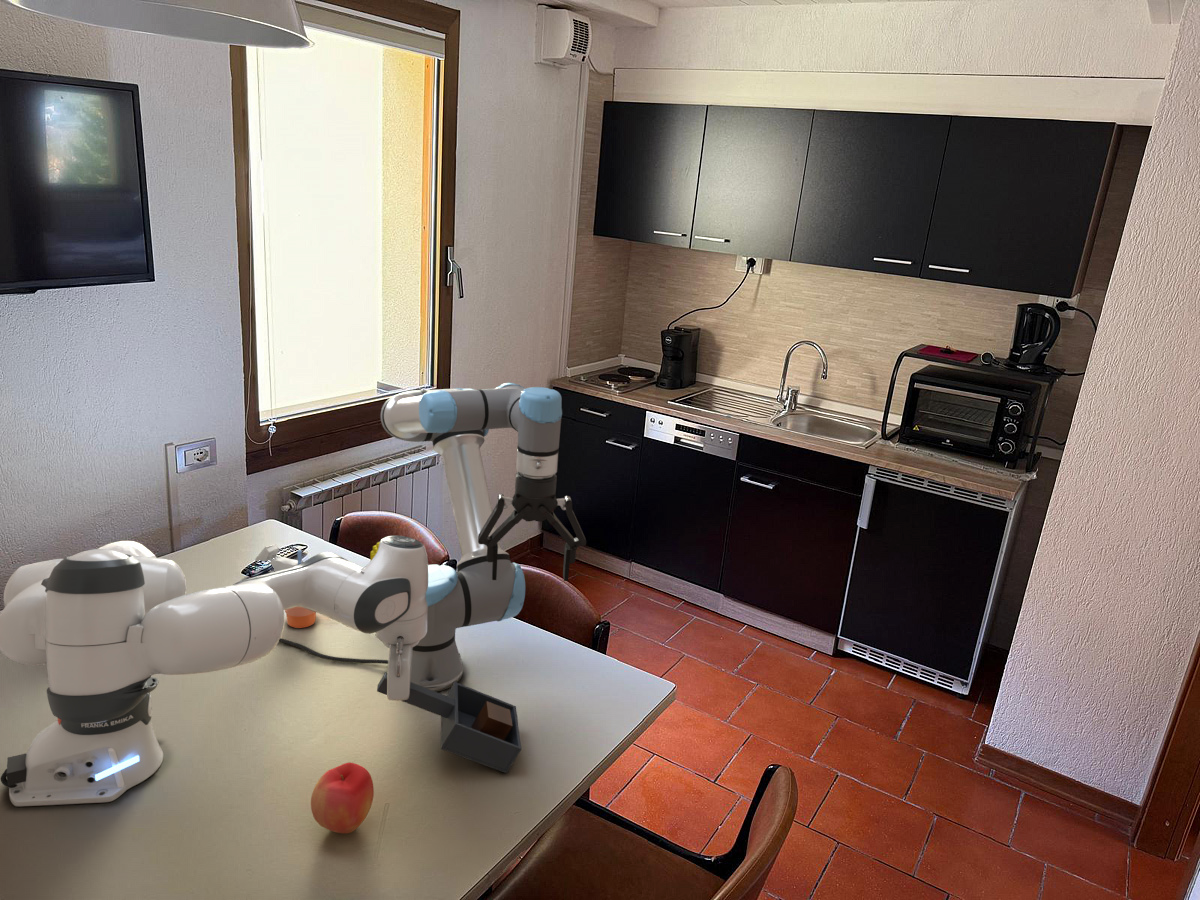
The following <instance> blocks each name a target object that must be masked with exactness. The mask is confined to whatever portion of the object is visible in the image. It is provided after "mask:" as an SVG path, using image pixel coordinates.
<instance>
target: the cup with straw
mask: <svg viewBox="0 0 1200 900" xmlns="http://www.w3.org/2000/svg"><path fill="white" fill-rule="evenodd" d="M296 553H297V560H298V565H299V564H301V563H302V561H303V553H302V550H301V549H298V550H297V551H296ZM284 613H285V615H286V623H287V625H288V626H290V627H292V628H296V629H301V628H302V629H303V628H307V627H310V626H312V625H314V624H315V622H316V619H317V612H313V611H311V610H308V609H306V608H303V607H293V608H290V609H287V610H284Z"/></svg>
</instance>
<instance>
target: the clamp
mask: <svg viewBox="0 0 1200 900" xmlns="http://www.w3.org/2000/svg"><path fill="white" fill-rule="evenodd" d="M280 549H281V547H279V546H278V545H277V544H272V545H266V546H264V547H263V549H262V550H261V551H260V552H259V554H258V555H257V556H256V557H255V559H254V562H255V563H256V561H259V560H262V561H268V560H271V562H270V563H269V564H271V565H272V566H273V568H274V571H275V572H277V571H281V570H285V569H289V568H292V567H295V566H297V565H298V559H292V558H289V557H285V556H278V553H279V551H280ZM273 558H274V559H273ZM272 559H273V560H272ZM303 562H304V561H303V560H302V563H303ZM267 571H268V570H267ZM274 571H271V570H270V571H268V573H272V572H274Z"/></svg>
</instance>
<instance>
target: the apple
mask: <svg viewBox="0 0 1200 900" xmlns="http://www.w3.org/2000/svg"><path fill="white" fill-rule="evenodd" d="M374 790H375V789H374V782H373V777H372V775H371V773H370V772H369V770H368V769H367V768H366V767H365V766H362V765H361V764H357V763H354V762H345V763H343V764H340V765H338V766H336V767H333V768H331V769H328V770H327V771H325V772H324V773H323V774H322V775H321V776H320V778H318V780H317V782H316V784H315V785H314V788H313V790H312V793H311V798H310V811H311V814H312V816H313V819H314V820H315V822H316V823H317V824H318V825H319V826H320V827H322V828H324V829H325V830H327V831H331V832H333V833H337V834H350V833H353V832H354V831H356V830H358V828H359V827H360V826H361V825H362V823H363V822H364V821H365V819H366V818H367V816H368V814H369V812H370V810H371V807H372V804H373V801H374V794H375V793H374V792H375V791H374Z"/></svg>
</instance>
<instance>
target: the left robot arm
mask: <svg viewBox="0 0 1200 900" xmlns="http://www.w3.org/2000/svg"><path fill="white" fill-rule="evenodd" d="M379 542H380V543H379V548H378V552H377V553H376V555H375V556H374V558H373V559H372V560H371V561H369V562H368V563H367V564H366V565H364V566H361V565H359V564H357V563H354V562H351V561H349V560H348V559H347V558H345V557H342V556H341V555H339V554H336V553H334V552H330V551H329V552H328V551H325V552H320V553H317V554H315V555H313V556H311V557H310V558H308V559H306V560H305V561H303V563H301V564H299V565H297V566H295V567H292V568H289V569H285V570H281V571H277V572H272V573H271V572H268V573H264V574H261V575H257V576H253V577H252V576H251V577H249V578H246V579H243V580H239V581H238V582H235V583H233V584H230V585H226V586H219V587H213V588H208V589H202V590H198V591H195V592H191V593H187V588H188V587H187V584H188V583H187V579H186V575H185V573H184V572H183V570H182V568H181V567H180V566H179V564H178V563H177V562H175V561H174V560H173V559H169V558H168V559H167V558H161V557H156V558H155V557H147V556H132V555H129V554H123V553H121V552H118V551H114V550H109V549H99V548H95V549H88V550H84V551H81V552H78V553H75V554H73V555H69V556H66V557H64V558H55V559H49V560H44V561H37V562H34V563H33V562H32V563H29V564H25V565H21V566H20V567H18V568H17V569H16V570H15V571H14V572H13V573H12V574H11V575H10V577H9V578H8V580H7V582H6V585H5V587H4V591H3V606H4V608H3V609H2V610H1V612H0V652H1V653H2V654H3V655H4V656H5V657H6V658H7V659H9V660H11V661H12V662H14V663H16V664H17V663H18V664H21V665H26V666H40V665H46V671H47V673H46V674H47V680H48V688H46V696H47V700H48V705H49V709H50V711H51V713H52V715H53V716H54V718H57V720H55V721H54V722H53V723H51V724H49V725H48V726H47V727H45V728H43V729H42V730H41V731H39V733H37V735H35V737H34V738H33V740H32V742H31V743H30V745H29V746H28V749H27V752H26V753H21V754H17V755H12V756H8V757H7V763H6V769H5V770H4V771H3V773H1V776H0V782H1V784H2V785H3V786H5V787H7V788H8V797H9V800H10V802H11V804H12V805H13V806H15V807H34V806H35V807H37V806H56V805H57V806H58V805H59V806H60V805H76V804H77V805H78V804H96V803H98V804H99V803H110V802H113V801H115V800H117V799H118V798H119V797H121V796H122V795H123V794H124V793H125V792H126V791H127V790H129V789H131V788H133V787H135V786H136V785H139V784H141V783H143V782H144V781H145V780H147V779H148V778H149V777H151V776H152V775H154V774H155V773H156V771H158V769H159V768H160V767H161V765H162V763H163V760H164V751H163V749H162V747H161V745H160V744H159V742H158V739H157V736H156V734H155V730H154V727H153V723H152V716H153V703H152V695H151V692H153V691H154V690H156V688H157V687H158V685H159V682H160V680H159V678H158V677H152V676H154V675H157V674H158V675H160V674H161V675H164V676H165V675H166V676H184V675H185V676H186V675H197V674H206V673H211V672H219V671H222V670H227V669H231V668H234V667H235V668H236V667H240V666H244V665H248V664H251V663H253V662H256V661H258V660H261V659H263V658H264V657H266V656H268V655H269V654H271V653H272V651H273V650H274V649H275V648H276V646H277V645H278V643H280V642H279V640H280V638H281V639H282V635H283V632H284V628H285V610H287V609H290V608H293V607H303V608H306V609H308V610H311V611H313V612H316V614H320V615H322V616H325V617H327V618H328V619H331V620H333V621H335V622H337V623H339V624H342V625H343V626H346V627H348V628H350V629H352V630H355V631H357V632H360V633H363V634H366V635H369V634H375V637H376V638H377V639H378V640H379V641H380V642H382V644H383V645H384V646H385V647H386V648H388V658H387V660H388V664H387V695H386V696H387V700H388V701H397V702H398V701H401V700H407V699H408V698H409V695H410V682H411V667H412V652H413V647H414V646H416V645H417V644H418V643H419V641H420V640H421V639H422V638H424V637H425V635H426V634H427V616H428V605H427V601H426V591H427V589H428V565H429V560H428V554H427V550H426V547H425V545H424V544H423V542H421V541H419V540H417V539H415V538H412V537H410V536H406V535H388V536H384V537H383V538H381V539H380V541H379Z"/></svg>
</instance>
